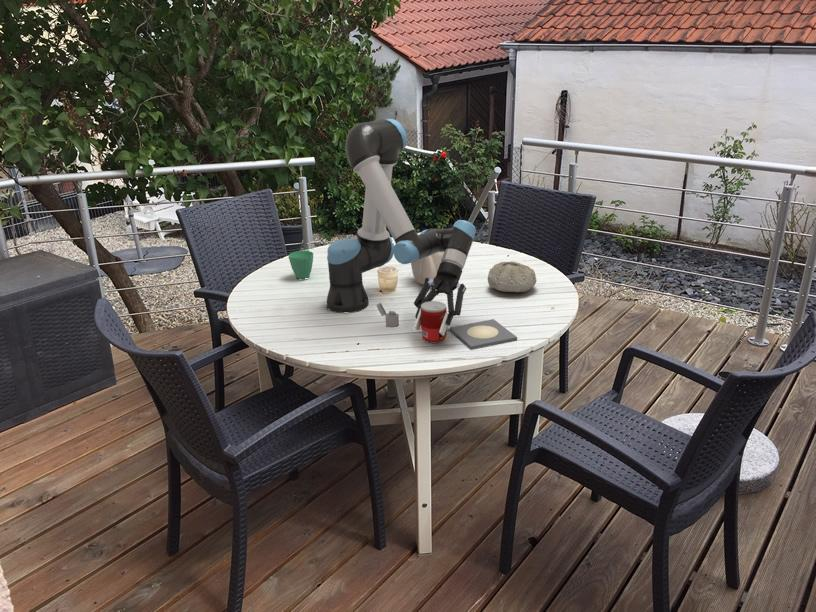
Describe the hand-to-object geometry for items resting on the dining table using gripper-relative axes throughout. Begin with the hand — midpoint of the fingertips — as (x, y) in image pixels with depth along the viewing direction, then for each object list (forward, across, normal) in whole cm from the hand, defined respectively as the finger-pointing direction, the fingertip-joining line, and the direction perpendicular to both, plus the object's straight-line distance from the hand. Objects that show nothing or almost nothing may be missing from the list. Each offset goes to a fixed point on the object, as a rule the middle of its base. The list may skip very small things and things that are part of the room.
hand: (428, 331), depth 211 cm
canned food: (0, 0, -5) cm, 5 cm away
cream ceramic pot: (-32, +26, -40) cm, 58 cm away
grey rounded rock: (-36, -5, -44) cm, 57 cm away
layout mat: (-7, -12, -14) cm, 19 cm away
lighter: (-2, +20, -10) cm, 22 cm away
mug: (-22, +77, -31) cm, 86 cm away
